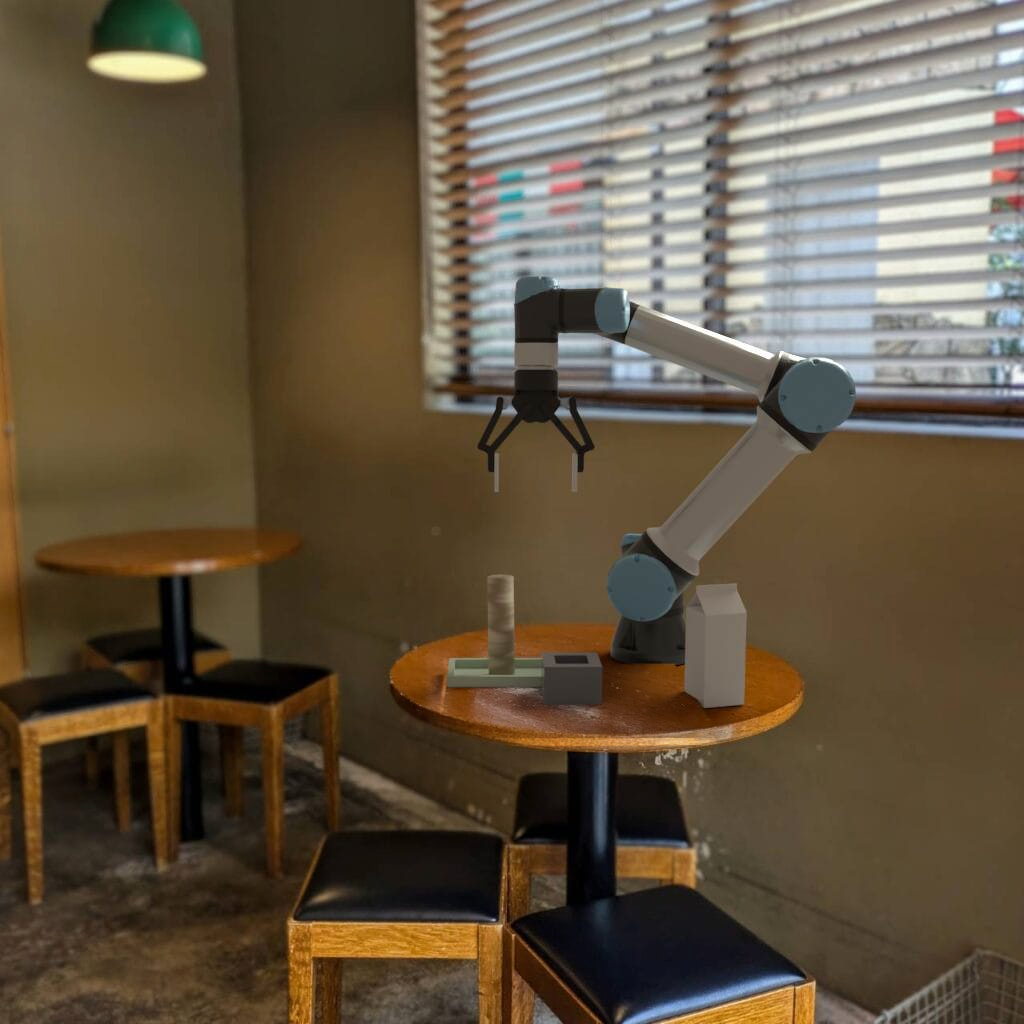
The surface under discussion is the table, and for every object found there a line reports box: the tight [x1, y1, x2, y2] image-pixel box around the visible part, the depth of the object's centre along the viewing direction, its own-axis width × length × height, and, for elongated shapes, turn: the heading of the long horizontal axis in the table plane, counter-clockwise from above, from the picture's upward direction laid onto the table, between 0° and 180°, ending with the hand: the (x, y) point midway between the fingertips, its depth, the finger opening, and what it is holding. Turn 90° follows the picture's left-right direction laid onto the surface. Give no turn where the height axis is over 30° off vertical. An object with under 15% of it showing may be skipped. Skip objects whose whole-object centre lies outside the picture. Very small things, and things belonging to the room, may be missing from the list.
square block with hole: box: [541, 651, 603, 706], centre depth 175 cm, size 9×9×7 cm
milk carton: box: [683, 583, 748, 709], centre depth 175 cm, size 7×7×19 cm
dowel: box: [486, 574, 516, 675], centre depth 186 cm, size 4×4×17 cm
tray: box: [446, 657, 542, 688], centre depth 187 cm, size 18×12×3 cm, turn 91°
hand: (535, 491), depth 192 cm, fingers open, 13 cm apart
